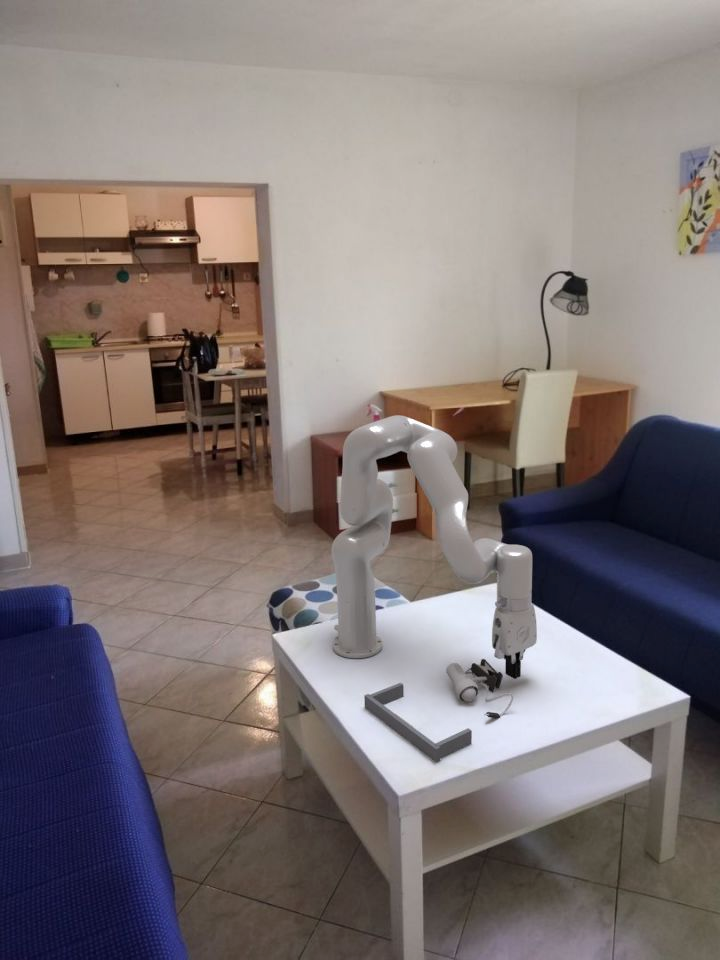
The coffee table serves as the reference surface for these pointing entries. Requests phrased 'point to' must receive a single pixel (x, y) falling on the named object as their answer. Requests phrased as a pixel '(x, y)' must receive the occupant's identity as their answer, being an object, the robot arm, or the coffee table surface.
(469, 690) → the clip-on lamp
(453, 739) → the grey u-shaped handle
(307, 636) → the coffee table surface
